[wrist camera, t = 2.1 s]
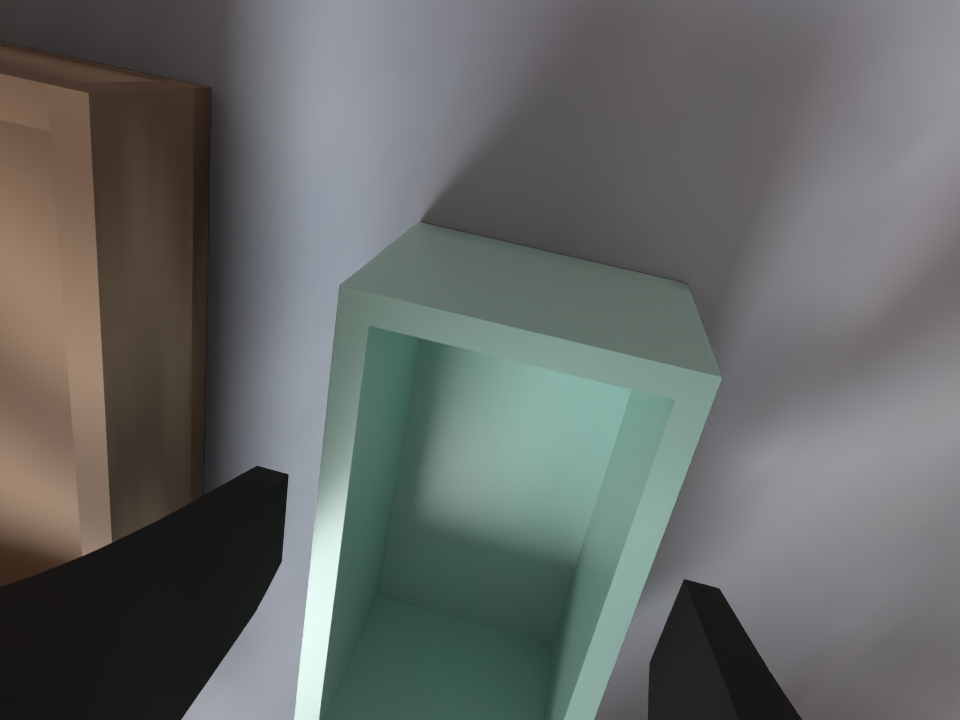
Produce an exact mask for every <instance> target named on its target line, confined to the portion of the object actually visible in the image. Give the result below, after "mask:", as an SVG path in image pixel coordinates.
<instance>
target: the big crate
mask: <svg viewBox="0 0 960 720" xmlns="http://www.w3.org/2000/svg"><path fill="white" fill-rule="evenodd" d="M210 101H211V88H210V87H205V86H201V85H196V84H192V83H187V82H182V81H178V80H173V79H169V78H164V77H159V76H155V75H150V74H146V73H141V72H137V71H132V70H127V69H123V68H118V67H114V66H109V65H105V64H100V63H95V62H91V61H86V60H82V59H77V58H72V57H68V56H63V55H59V54H54V53H50V52H45V51H40V50H36V49H31V48H27V47H22V46H17V45H13V44H8V43H4V42H0V587H2V586H5V585H8V584H11V583H14V582H17V581H20V580H23V579H25V578H28V577H31V576H34V575H36V574H39V573H41V572H44V571H46V570H49V569H52V568H54V567H57V566H59V565H62V564H64V563H67V562H69V561H72V560H74V559H77V558H79V557H81V556H84V555H86V554H88V553H91V552H93V551H95V550H97V549H100V548H102V547H104V546H106V545H108V544H110V543H112V542H114V541H116V540H118V539H121V538H123V537H125V536H127V535H129V534H131V533H133V532H135V531H137V530H139V529H141V528H143V527H145V526H147V525H149V524H151V523H154V522H156V521H158V520H159V519H161V518H163V517H165V516H167V515H169V514H171V513H172V512H174V511H176V510H178V509H180V508H182V507H184V506H186V505H187V504H189V503H191V502H193V501H195V500H197V499H198V498H200V497H202V496H203V482H204V428H205V373H206V319H207V265H208V210H209V156H210Z"/></svg>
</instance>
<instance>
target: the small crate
mask: <svg viewBox="0 0 960 720" xmlns="http://www.w3.org/2000/svg"><path fill="white" fill-rule="evenodd" d="M721 380H722V375H721V372H720V370H719V367H718V364H717V361H716V359H715V356H714V353H713V350H712V348H711V345H710V342H709V340H708V337H707V334H706V331H705V329H704V326H703V323H702V321H701V318H700V315H699V312H698V310H697V307H696V304H695V302H694V299H693V296H692V293H691V291H690V288H689V285H688V284H687V283H683V282H678V281H674V280H670V279H665V278H661V277H657V276H652V275H648V274H644V273H639V272H635V271H631V270H626V269H622V268H617V267H613V266H609V265H604V264H600V263H596V262H591V261H587V260H583V259H578V258H574V257H570V256H565V255H561V254H556V253H552V252H548V251H543V250H539V249H535V248H530V247H526V246H522V245H517V244H513V243H509V242H504V241H500V240H495V239H491V238H487V237H482V236H478V235H474V234H469V233H465V232H461V231H456V230H452V229H447V228H443V227H439V226H434V225H430V224H426V223H421V222H418V223H417V224H416V225H414V226H413V227H412V228H411V229H409V230H408V231H407V232H406V233H404V234H403V235H402V236H401V237H399V238H398V239H397V240H396V241H394V242H393V243H392V244H391V245H389V246H388V247H387V248H386V249H384V250H383V251H382V252H381V253H379V254H378V255H377V256H376V257H374V258H373V259H372V260H371V261H369V262H368V263H367V264H366V265H364V266H363V267H362V268H361V269H359V270H358V271H357V272H356V273H354V274H353V275H352V276H351V277H350V278H348V279H347V280H346V281H345V282H343V283H342V284H341V285H340V286H339V294H338V304H337V314H336V323H335V333H334V342H333V352H332V362H331V371H330V381H329V390H328V400H327V410H326V419H325V429H324V438H323V448H322V458H321V467H320V477H319V486H318V496H317V506H316V515H315V525H314V534H313V544H312V553H311V563H310V573H309V582H308V592H307V601H306V611H305V621H304V630H303V640H302V649H301V659H300V669H299V678H298V688H297V697H296V707H295V717H294V720H594V718H595V716H596V713H597V710H598V708H599V705H600V702H601V700H602V697H603V694H604V692H605V689H606V686H607V684H608V681H609V678H610V676H611V673H612V670H613V668H614V665H615V662H616V660H617V657H618V654H619V652H620V649H621V646H622V644H623V641H624V638H625V636H626V633H627V630H628V628H629V625H630V622H631V620H632V617H633V614H634V612H635V609H636V606H637V604H638V601H639V598H640V596H641V593H642V590H643V588H644V585H645V582H646V580H647V577H648V574H649V572H650V569H651V566H652V564H653V561H654V558H655V556H656V553H657V550H658V548H659V545H660V542H661V540H662V537H663V534H664V532H665V529H666V526H667V524H668V521H669V518H670V516H671V513H672V510H673V508H674V505H675V502H676V500H677V497H678V494H679V492H680V489H681V487H682V484H683V481H684V479H685V476H686V473H687V471H688V468H689V465H690V463H691V460H692V457H693V455H694V452H695V449H696V447H697V444H698V441H699V439H700V436H701V433H702V431H703V428H704V425H705V423H706V420H707V417H708V415H709V412H710V409H711V407H712V404H713V401H714V399H715V396H716V393H717V391H718V388H719V385H720V383H721Z"/></svg>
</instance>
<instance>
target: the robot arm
mask: <svg viewBox="0 0 960 720" xmlns="http://www.w3.org/2000/svg"><path fill="white" fill-rule="evenodd" d="M288 475H289V474H285V473H282V472H278V471H274V470H270V469H266V468H263V467H259V466H256V467H254V468H252V469H250V470H248V471H247V472H245V473H243V474H241V475H239V476H238V477H236V478H234V479H232V480H230V481H229V482H227V483H225V484H223V485H222V486H220V487H218V488H216V489H214V490H213V491H211V492H209V493H207V494H205V495H204V496H202V497H200V498H198V499H197V500H195V501H193V502H191V503H189V504H187V505H186V506H184V507H182V508H180V509H178V510H176V511H174V512H172V513H171V514H169V515H167V516H165V517H163V518H161V519H159V520H158V521H156V522H154V523H151V524H149V525H147V526H145V527H143V528H141V529H139V530H137V531H135V532H133V533H131V534H129V535H127V536H125V537H123V538H121V539H118V540H116V541H114V542H112V543H110V544H108V545H106V546H104V547H102V548H100V549H97V550H95V551H93V552H91V553H88V554H86V555H84V556H81V557H79V558H77V559H74V560H72V561H69V562H67V563H64V564H62V565H59V566H57V567H54V568H52V569H49V570H46V571H44V572H41V573H39V574H36V575H34V576H31V577H28V578H25V579H23V580H20V581H17V582H14V583H11V584H8V585H5V586H2V587H0V720H181V719H182V718H183V716H184V715H185V713H186V712H187V710H188V709H189V707H190V706H191V705H192V703H193V702H194V700H195V699H196V697H197V696H198V694H199V693H200V692H201V690H202V689H203V687H204V686H205V684H206V683H207V682H208V680H209V679H210V677H211V676H212V674H213V673H214V671H215V670H216V669H217V667H218V666H219V664H220V663H221V661H222V660H223V658H224V657H225V656H226V654H227V653H228V651H229V650H230V648H231V647H232V645H233V644H234V642H235V641H236V640H237V638H238V637H239V635H240V634H241V632H242V631H243V629H244V628H245V626H246V625H247V623H248V622H249V620H250V619H251V617H252V616H253V614H254V613H255V612H256V610H257V608H258V606H259V604H260V602H261V601H262V599H263V597H264V595H265V593H266V591H267V589H268V587H269V586H270V584H271V582H272V580H273V578H274V576H275V574H276V572H277V570H278V568H279V566H280V564H281V562H282V551H283V539H284V526H285V513H286V500H287V487H288ZM648 720H802V719H801V717H800V716H799V715H798V713H797V712H796V710H795V709H794V707H793V706H792V704H791V703H790V701H789V700H788V698H787V697H786V695H785V694H784V692H783V691H782V689H781V688H780V686H779V685H778V683H777V682H776V680H775V678H774V677H773V675H772V674H771V672H770V671H769V669H768V668H767V666H766V664H765V663H764V661H763V660H762V658H761V656H760V655H759V653H758V651H757V650H756V648H755V647H754V645H753V643H752V642H751V640H750V638H749V637H748V635H747V633H746V632H745V630H744V628H743V627H742V625H741V623H740V622H739V620H738V618H737V617H736V615H735V613H734V612H733V610H732V608H731V607H730V605H729V603H728V602H727V600H726V598H725V597H724V595H723V594H722V592H721V590H720V589H719V588H715V587H712V586H708V585H704V584H700V583H697V582H693V581H689V580H685V579H684V580H683V583H682V585H681V588H680V590H679V593H678V595H677V597H676V600H675V602H674V605H673V607H672V610H671V612H670V615H669V617H668V619H667V622H666V624H665V627H664V629H663V632H662V634H661V637H660V639H659V642H658V644H657V646H656V649H655V651H654V654H653V656H652V659H651V661H650V669H649V701H648Z"/></svg>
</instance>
